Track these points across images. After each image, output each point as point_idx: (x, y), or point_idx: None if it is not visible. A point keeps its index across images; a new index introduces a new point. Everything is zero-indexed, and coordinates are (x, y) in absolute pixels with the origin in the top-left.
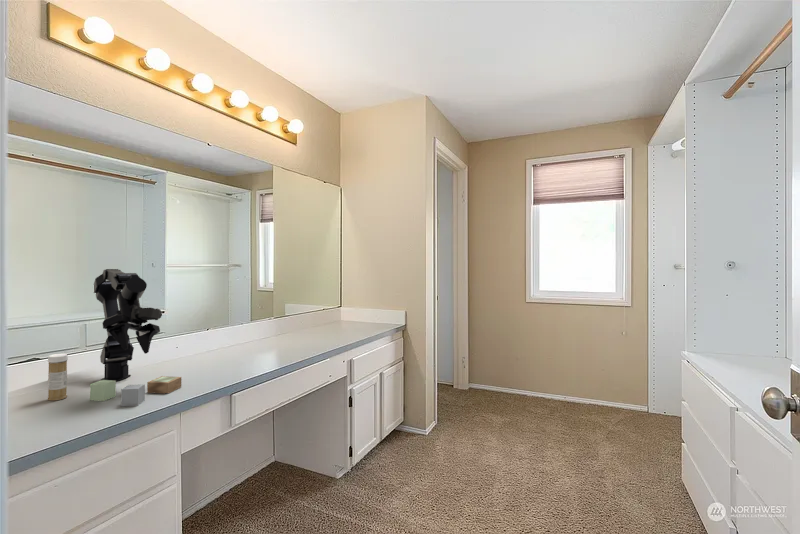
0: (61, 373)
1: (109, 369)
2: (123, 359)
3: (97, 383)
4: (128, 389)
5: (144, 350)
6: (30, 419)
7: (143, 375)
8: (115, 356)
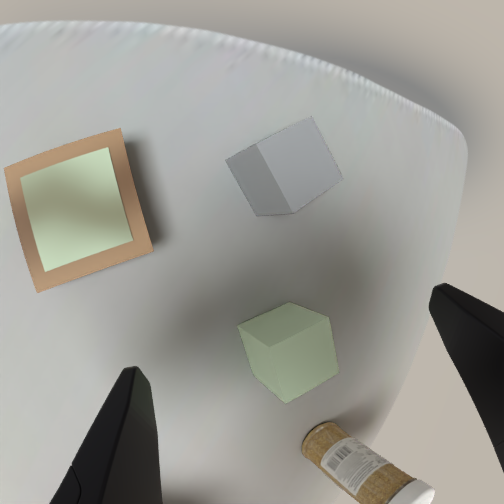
0: (379, 463)
1: None
2: None
3: (325, 362)
4: (329, 152)
5: (148, 412)
6: (418, 308)
7: (25, 487)
8: None
